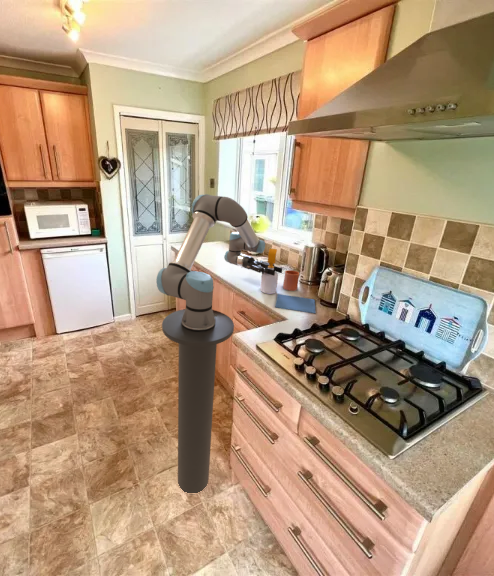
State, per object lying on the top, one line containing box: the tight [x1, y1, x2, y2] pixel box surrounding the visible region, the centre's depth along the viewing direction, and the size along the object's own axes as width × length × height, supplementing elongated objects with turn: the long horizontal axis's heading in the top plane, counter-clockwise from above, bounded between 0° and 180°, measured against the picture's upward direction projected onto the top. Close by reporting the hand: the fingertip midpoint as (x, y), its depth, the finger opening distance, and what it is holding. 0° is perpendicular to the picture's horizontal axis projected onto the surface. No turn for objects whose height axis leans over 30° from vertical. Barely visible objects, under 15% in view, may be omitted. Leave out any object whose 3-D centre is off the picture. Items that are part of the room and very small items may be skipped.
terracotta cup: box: [282, 269, 300, 292], centre depth 180 cm, size 8×8×10 cm
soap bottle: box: [259, 248, 279, 295], centre depth 171 cm, size 9×9×25 cm
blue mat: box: [274, 293, 316, 315], centre depth 161 cm, size 20×18×1 cm
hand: (278, 271), depth 168 cm, fingers closed on soap bottle, 6 cm apart
